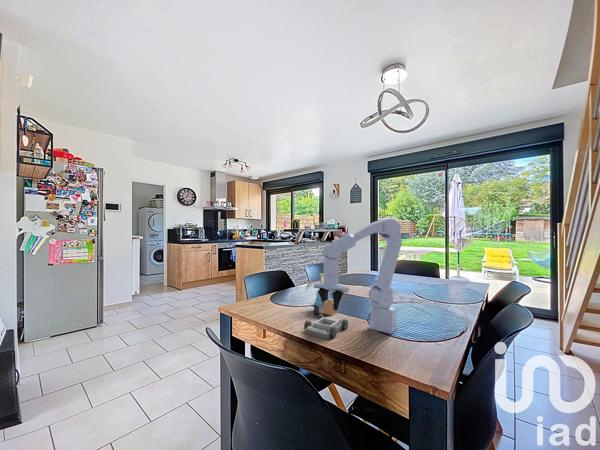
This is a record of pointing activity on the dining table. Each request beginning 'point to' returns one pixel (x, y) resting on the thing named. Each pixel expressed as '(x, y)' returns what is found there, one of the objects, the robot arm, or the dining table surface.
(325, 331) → the chassis
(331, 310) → the block
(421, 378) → the dining table surface
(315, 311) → the toy excavator
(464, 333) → the dining table surface
